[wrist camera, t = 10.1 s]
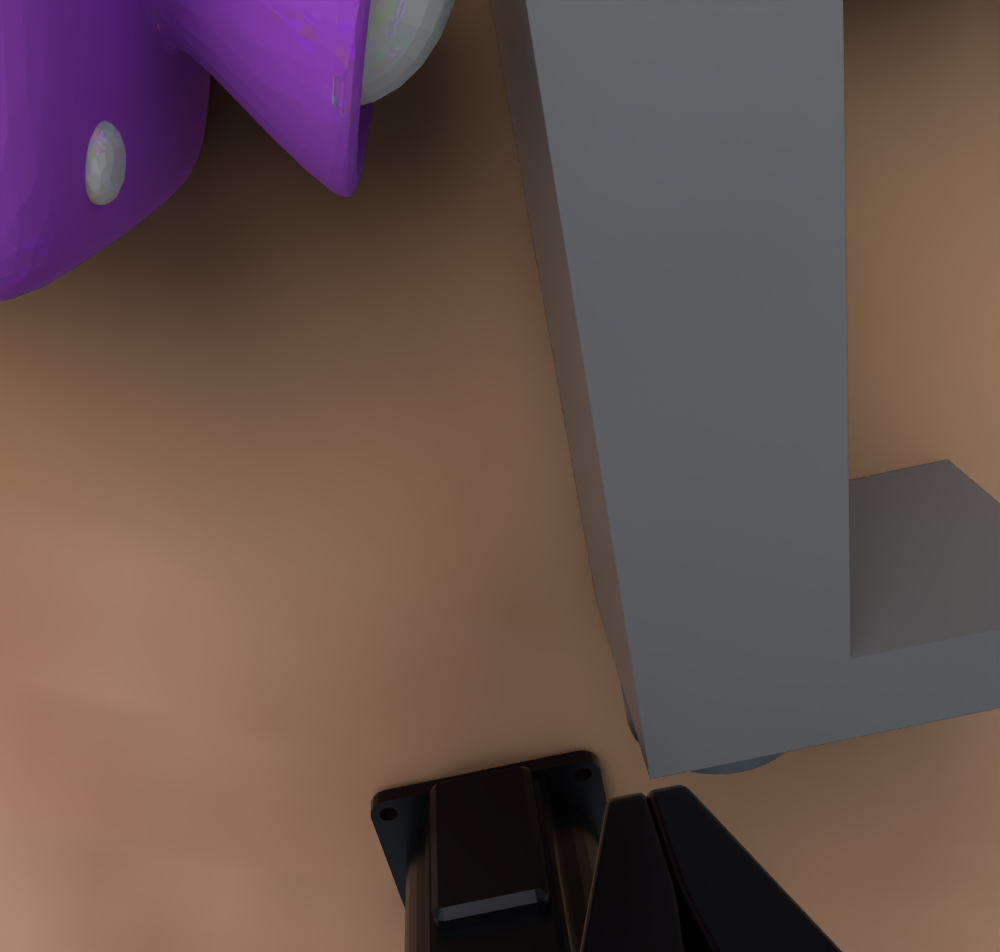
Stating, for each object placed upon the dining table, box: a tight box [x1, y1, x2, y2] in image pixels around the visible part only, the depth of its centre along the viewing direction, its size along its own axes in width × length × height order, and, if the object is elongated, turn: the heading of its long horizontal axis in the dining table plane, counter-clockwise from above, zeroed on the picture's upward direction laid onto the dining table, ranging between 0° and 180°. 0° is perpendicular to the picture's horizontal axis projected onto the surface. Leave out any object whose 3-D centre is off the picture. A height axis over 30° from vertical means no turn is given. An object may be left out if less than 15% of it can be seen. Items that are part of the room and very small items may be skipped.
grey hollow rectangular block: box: [491, 0, 1000, 779], centre depth 17 cm, size 17×9×6 cm, turn 11°
